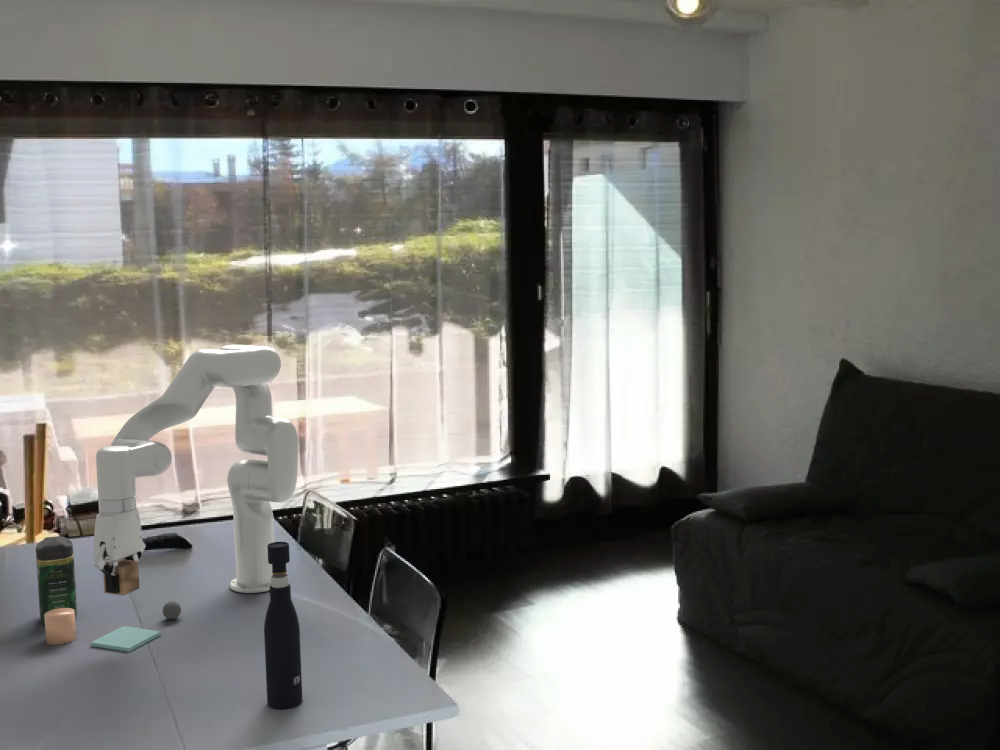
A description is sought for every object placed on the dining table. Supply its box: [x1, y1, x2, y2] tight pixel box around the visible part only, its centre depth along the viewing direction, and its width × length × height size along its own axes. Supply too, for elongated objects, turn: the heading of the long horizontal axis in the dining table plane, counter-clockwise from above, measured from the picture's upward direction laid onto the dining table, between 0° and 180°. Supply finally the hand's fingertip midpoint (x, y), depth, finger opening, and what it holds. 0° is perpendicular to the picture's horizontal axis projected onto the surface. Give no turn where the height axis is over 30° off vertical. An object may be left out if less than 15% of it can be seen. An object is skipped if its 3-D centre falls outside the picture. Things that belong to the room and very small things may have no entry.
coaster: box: [90, 625, 162, 653], centre depth 227 cm, size 10×10×1 cm
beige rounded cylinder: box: [44, 608, 77, 646], centre depth 228 cm, size 6×6×6 cm
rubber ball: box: [162, 600, 182, 620], centre depth 239 cm, size 4×4×4 cm
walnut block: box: [102, 558, 140, 597], centre depth 225 cm, size 5×5×6 cm
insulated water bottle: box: [263, 541, 303, 710], centre depth 193 cm, size 6×6×30 cm
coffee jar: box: [35, 535, 78, 625], centre depth 240 cm, size 10×8×19 cm
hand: (122, 587), depth 225 cm, fingers closed on walnut block, 5 cm apart
